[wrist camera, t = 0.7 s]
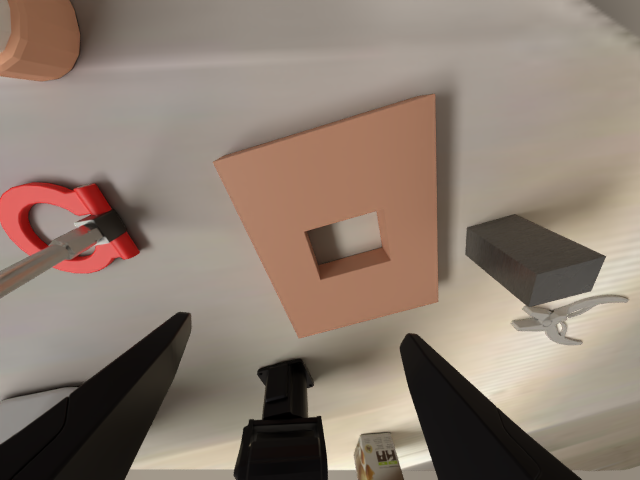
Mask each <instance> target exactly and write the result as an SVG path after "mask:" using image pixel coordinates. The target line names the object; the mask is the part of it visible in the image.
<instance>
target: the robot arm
mask: <svg viewBox="0 0 640 480" xmlns="http://www.w3.org/2000/svg"><path fill="white" fill-rule="evenodd" d="M190 333H191V314H190V313H187V312H178V313H176V314H175V315H174V316H172V317H171V318H170V319H168V320H167V321H166V322H164V323H163V324H162V325H160V326H159V327H158V328H156V329H155V330H154V331H152V332H151V333H150V334H148V335H147V336H146V337H145V338H143V339H142V340H141V341H139V342H138V343H137V344H135V345H134V346H133V347H131V348H130V349H129V350H127V351H126V352H125V353H123V354H122V355H121V356H119V357H118V358H117V359H115V360H114V361H113V362H111V363H110V364H109V365H107V366H106V367H105V368H104V369H102V370H101V371H100V372H98V373H97V374H96V375H94V376H93V377H92V378H90V379H89V380H88V381H86V382H85V383H84V384H82V385H81V386H80V387H78V388H77V389H76V390H74V391H73V392H72V393H70V395H69V397H68V396H67V397H65V398H64V399H62V400H61V401H60V402H58V403H57V404H56V405H54V406H53V407H52V408H50V409H49V410H48V411H46V412H45V413H44V414H42V415H41V416H39V417H38V418H37V419H35V420H34V421H33V422H31V423H30V424H29V425H27V426H26V427H24V428H23V429H22V430H20V431H19V432H17V433H16V434H14V435H13V436H12V437H10V438H9V439H7V440H6V441H4V442H3V443H1V444H0V480H125V478H126V475H127V473H128V471H129V469H130V467H131V465H132V463H133V461H134V459H135V457H136V455H137V453H138V451H139V449H140V447H141V445H142V443H143V441H144V439H145V437H146V435H147V432H148V430H149V428H150V426H151V424H152V422H153V420H154V418H155V416H156V414H157V412H158V410H159V408H160V406H161V404H162V402H163V400H164V398H165V396H166V394H167V392H168V389H169V387H170V385H171V383H172V381H173V379H174V377H175V374H176V372H177V369H178V366H179V364H180V361H181V358H182V355H183V353H184V350H185V347H186V344H187V342H188V339H189V336H190ZM400 353H401V357H402V362H403V366H404V371H405V375H406V380H407V383H408V387H409V391H410V394H411V397H412V400H413V403H414V406H415V409H416V412H417V415H418V418H419V422H420V425H421V428H422V431H423V434H424V437H425V440H426V443H427V446H428V449H429V452H430V456H431V459H432V462H433V465H434V468H435V471H436V474H437V477H438V480H582V479H581V478H580V477H578V476H577V475H576V474H575V473H573V472H572V471H571V470H570V469H569V468H567V467H566V466H565V465H564V464H563V463H561V462H560V461H559V460H558V459H557V458H555V457H554V456H553V455H552V454H551V453H549V452H548V451H547V450H546V449H545V448H543V447H542V446H541V445H540V444H539V443H537V442H536V441H535V440H534V439H533V438H532V437H530V436H529V435H528V434H527V433H526V432H524V431H523V430H522V429H521V428H520V427H519V426H518V425H516V424H515V423H514V422H513V421H512V420H511V419H510V418H509V417H507V416H506V415H505V414H504V413H503V412H502V411H501V410H500V409H499V408H497V407H496V406H495V405H494V404H493V403H492V402H491V401H490V400H489V399H488V398H487V397H485V396H484V395H483V394H482V393H481V392H480V391H479V390H478V389H477V388H476V387H474V386H473V385H472V384H471V383H470V382H469V381H468V380H467V379H466V378H465V377H464V376H462V375H461V374H460V373H459V372H458V371H457V370H456V369H455V368H454V367H453V366H451V365H450V364H449V363H448V362H447V361H446V360H445V359H444V358H443V357H442V356H440V355H439V354H438V353H437V352H436V351H435V350H434V349H433V348H432V347H431V346H429V345H428V344H427V343H426V342H425V341H424V340H423V339H422V338H421V337H420V336H418V335H417V334H412V333H408V334H407V335H406V336H405V338H404V339H403V341H402V343H401V345H400ZM257 375H258V376H259V378H260V379H261V381H262V382H263V383H264V385H265V386H266V387H265V396H264V405H263V414H262V420H254V419H249V424H248V426H246V427H244V429H243V435H242V441H241V446H240V450H239V454H238V457H237V461H236V465H235V469H234V477H235V479H236V480H328V466H327V454H326V446H325V439H324V433H323V426H322V419H321V416H317V417H309V418H308V401H307V388H310V387H313V386H314V382H313V380H312V378H311V376H310V374H309V372H308V370H307V368H306V366H305V364H304V362H303V360H302V359H297V360H293V361H289V362H285V363H281V364H278V365H274V366H270V367H266V368H262V369H259V370H258V371H257Z"/></svg>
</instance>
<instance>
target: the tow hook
mask: <svg viewBox="0 0 640 480" xmlns="http://www.w3.org/2000/svg"><path fill="white" fill-rule="evenodd" d="M36 203H48V204H52V205H57V206H60V207H62V208H64V209H67V210H69V211H70V212H72V213H74V214H75V215H78V216H81V215H87V214H91V215H90V216H88V217H86V218H84V219H82V220H79V221H77V222H75V223H74V224H75V226H76V227H77V229H74V230H72V231H70V232H68V233H66V234H64V235H62V236H60V237H58V238H56V239H54V240H53V241H52V242H51V243H50V244H49V245H47V244H46V243H44V242H43V241H42V240H41V239H40V238H39V237H38V236H37V235H36V234H35V233H34V231H33V229H32V228H31V226H30V223H29V220H28V214H29V210H30V209H31V207H32V206H33V205H34V204H36ZM0 222H1V225H2V227H3V229H4V230H5V232H6V233H7V235H8V236H9V238H10V239H11V240H12V241H13V242H14V243H15V244H16V245H17V246H18V247H19V248H20V249H21V250H23V251H24V252H25V253H27V254H28V255H30V256H29V257H27V258H25V259H23V260H21V261H19V262H17V263H15V264H13V265H11V266H9V267H7V268H5V269H3V270H1V271H0V298H2V297H4V296H5V295H7V294H9V293H10V292H12V291H14V290H15V289H17V288H19V287H20V286H22V285H24V284H25V283H27V282H29V281H30V280H32V279H34V278H35V277H37V276H39V275H40V274H42V273H43V272H45V271H47V270H48V269H50V268H52V267H53V268H56V269H58V270H61V271H66V272H72V273H92V272H96V271H100V270H101V269H103V268H105V267H107V266H108V265H109V264H111V263H112V262H113V261H114V259H115V258H118V257H121V258H122V259H124V260H125V259H129V258H132V257H134V256H136V255H138V254H139V253H140V251H139V250H138V248H137V247H136V245H135V244H134V242H133V241H132V239H131V238H130V236H129V234H128V233H127V229H126V227H125V226H124V224H123V223H122V221H121V219H120V218H119V216H118V215H117V213H116V212H115V210H114V209H112V208H111V207H110V205H109V204H108V202H107V201H106V199H105V197H104V196H103V194H102V193H101V191H100V190H99V188H98V187H97V185H96V184H86V185H82V186H79V187H77V188H74V189H73V190H70V189H68V188H65V187H63V186H59V185H55V184H51V183H38V182H32V183H28V184H24V185H20V186H16V187H12V188H10V189H9V190H8V191H6V192H5V193H3V194H2V196H1V198H0ZM92 246H96V247H95V251H94V252H93V254H92V255H89V256H84V257H81V256H78V255H79V254H81V253H82V252H84V251H86V250H87V249H89V248H90V247H92Z"/></svg>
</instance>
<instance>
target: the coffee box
mask: <svg viewBox="0 0 640 480" xmlns="http://www.w3.org/2000/svg"><path fill="white" fill-rule="evenodd" d="M354 460H355V466H356V472H357V478H358V480H404V478H403V475H402V471H401V468H400V465H399V461H398V457H397V454H396V451H395V447H394V444H393V440H392V437H391V434H390V433H378V434H366V435H361V436H360V438H359V441H358V444H357V447H356V449H355V452H354Z"/></svg>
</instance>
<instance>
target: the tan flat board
mask: <svg viewBox="0 0 640 480" xmlns="http://www.w3.org/2000/svg"><path fill="white" fill-rule="evenodd" d="M213 163H214V166H215V168H216V170H217V172H218V174H219V176H220V178H221V180H222V182H223V184H224V186H225V188H226V190H227V192H228V194H229V196H230V198H231V200H232V202H233V204H234V207H235V209H236V211H237V213H238V215H239V217H240V219H241V221H242V223H243V225H244V227H245V229H246V231H247V233H248V235H249V237H250V239H251V241H252V243H253V245H254V248H255V250H256V252H257V254H258V256H259V258H260V260H261V262H262V264H263V266H264V268H265V270H266V272H267V274H268V276H269V278H270V280H271V282H272V284H273V286H274V288H275V291H276V293H277V295H278V297H279V299H280V301H281V303H282V305H283V307H284V309H285V311H286V313H287V315H288V317H289V319H290V321H291V323H292V325H293V327H294V329H295V332H296V334H297V336H298V338H303V337H307V336H310V335H314V334H318V333H322V332H326V331H329V330H333V329H337V328H341V327H345V326H348V325H352V324H356V323H360V322H364V321H367V320H371V319H375V318H379V317H383V316H386V315H390V314H394V313H398V312H402V311H405V310H409V309H413V308H417V307H421V306H424V305H428V304H432V303H436V302H438V250H437V185H436V119H435V94H430V95H422V96H417V97H413V98H410V99H407V100H404V101H400V102H397V103H394V104H391V105H387V106H384V107H381V108H378V109H375V110H371V111H368V112H365V113H362V114H358V115H355V116H352V117H349V118H345V119H342V120H339V121H336V122H332V123H329V124H326V125H323V126H319V127H316V128H313V129H310V130H306V131H303V132H300V133H297V134H293V135H290V136H287V137H284V138H280V139H277V140H274V141H271V142H267V143H264V144H261V145H258V146H254V147H251V148H248V149H245V150H241V151H238V152H235V153H232V154H228V155H225V156H222V157H221V158H219V159H217V160H216V161H214V162H213ZM374 211H377V216H378V223H379V229H380V235H381V242H382V248H378V249H375V250H371V251H367V252H364V253H360V254H357V255H353V256H349V257H346V258H342V259H339V260H335V261H332V262H328V263H324V264H321V265H318V263H317V260H316V257H315V254H314V251H313V248H312V245H311V242H310V239H309V236H308V233H307V231H308V230H312V229H315V228H319V227H322V226H326V225H329V224H333V223H336V222H340V221H343V220H347V219H350V218H353V217H357V216H360V215H364V214H367V213H371V212H374Z"/></svg>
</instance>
